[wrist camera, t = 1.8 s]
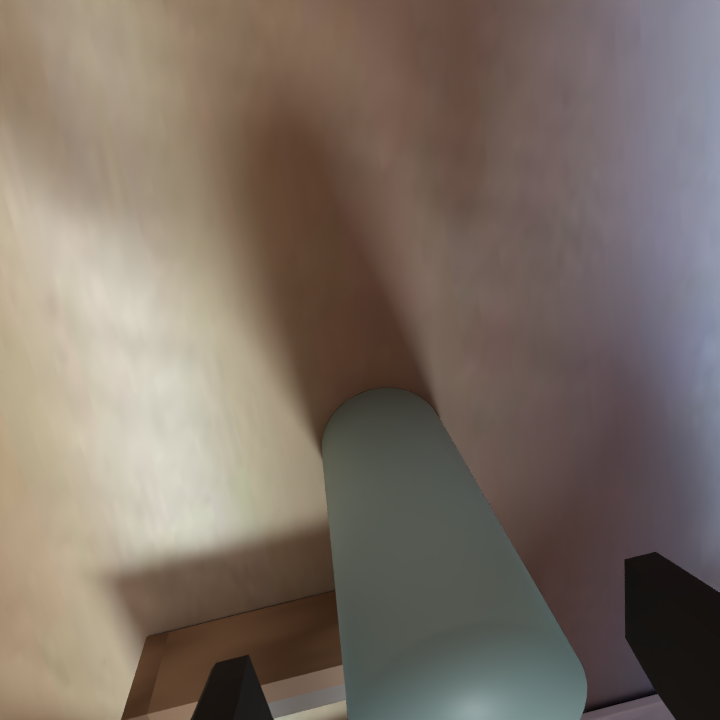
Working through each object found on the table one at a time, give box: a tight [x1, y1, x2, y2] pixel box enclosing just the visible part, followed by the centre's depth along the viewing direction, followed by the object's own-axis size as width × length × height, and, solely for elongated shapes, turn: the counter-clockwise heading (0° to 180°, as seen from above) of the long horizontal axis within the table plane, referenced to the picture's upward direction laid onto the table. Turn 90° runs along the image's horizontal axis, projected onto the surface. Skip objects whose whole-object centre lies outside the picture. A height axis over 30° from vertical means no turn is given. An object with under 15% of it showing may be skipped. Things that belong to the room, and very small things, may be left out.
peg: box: [322, 388, 587, 720], centre depth 13 cm, size 4×4×9 cm
